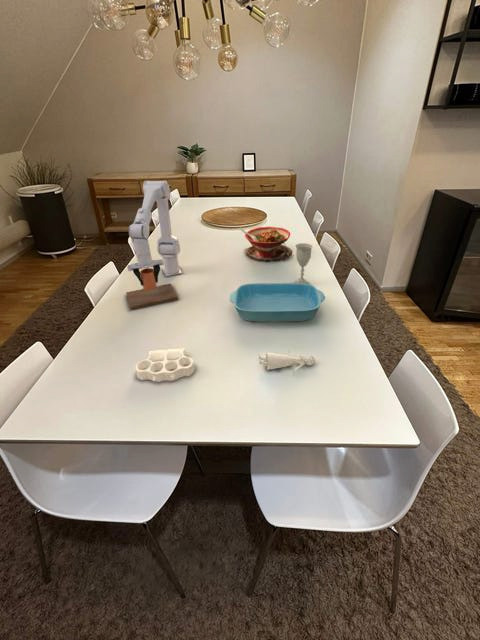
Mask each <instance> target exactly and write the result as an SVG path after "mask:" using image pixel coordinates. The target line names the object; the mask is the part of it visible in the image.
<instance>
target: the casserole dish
mask: <svg viewBox="0 0 480 640" xmlns="http://www.w3.org/2000/svg"><path fill="white" fill-rule="evenodd" d="M325 298H326V296H325V294H324V292H323V291H321V290H319V289H318V288H317V287H316V286H315V285H312V284H310V283H307V284H304V283H296V282H257V283H256V282H255V283H253V282H252V283H245V284H242V285H240V286H238V287H237V288H236V289H235V290H234V291H232V292H231V293H230V295H229V302H230V303H232V304H234V307H235V310H236V312H237V314H238V316H239V317H240V318H241V319H243V320H246V321H249V322H265V323H266V322H267V323H268V322H269V323H270V322H273V323H274V322H275V323H276V322H305V321H308V320H312V319H313V318H314V317H315V316H316V315H317V313H318V311H319V309H320V307H321V303H323V302H324V301H325V300H326V299H325Z"/></svg>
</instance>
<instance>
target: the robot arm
mask: <svg viewBox="0 0 480 640" xmlns="http://www.w3.org/2000/svg"><path fill="white" fill-rule="evenodd" d="M142 191H143V195H144V196H143V200H142V205H141V207H140V208H138V210H137V212H136V215H135V218H134V221H133V223H132V224H130V225H129V226H128V236H129V238H130V239H131V243H132V244H133V246H134V251H135V255H136V260H137V262H135V263H131V264H127V265H126V268H127V271H128V272H133V275H134V276H135V277H136V278H137V280H138V281H139V283H140V286H142V287H143V283H142V280H141V275H140V271H141V270H142V269H146V268H152V269H154V273H155V278H156V284H158V283H159V275H160V271H161V266H163V268H162V271H163V274H164V275H165V277H171V276H177V275H181V274H182V273H183V272H182V271H181V269H180V265H179V254H180V253H181V245H180V242H179V238H178V237H176V236H174V234H173V233H172V223H171V215H170V208H169V200H170V199H171V189H170V184H169V183H168V181H167V180H144V182H143V184H142ZM155 203H156V207H157V214H158V220H159V221H158V222H159V228H160V229H159V230H160V235H161V236H160V237H159V238H158V239H157V240H156V243H157V244H156V245H157V246H156V251H157V253H158V255H160V257H162V259H152V252H151V248H150V242H149V237H150V230H151V229H150V223H151V220H152V217H153V213H152V210H153V206H154V204H155Z"/></svg>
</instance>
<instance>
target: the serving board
mask: <svg viewBox="0 0 480 640" xmlns="http://www.w3.org/2000/svg"><path fill="white" fill-rule="evenodd" d="M125 294H126V297H127V301H128V305H129V309H130V311H132V310H133V311H134V310H137V309H141V308H147V307H152V306H155V305H160V304H165V303H170V302H174V301H178V300H179V297H178V295H177V293H176V291H175V289H174V287H173V285H172V283H171V282H170V283H166V284H160V285H157V287H156V288H155V289H152V290H145V289H144V288H140V289H136V290H132V291H127V292H125Z"/></svg>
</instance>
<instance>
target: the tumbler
mask: <svg viewBox="0 0 480 640" xmlns="http://www.w3.org/2000/svg"><path fill="white" fill-rule="evenodd" d="M139 271H140V275H141V280H142V283H143V286H142V289H145V290H152V289H155V288H156V287H157V286H158V283H156V278H155V273H154V269H153V267H149V268H146V269H145V268H142V269H140V270H139Z"/></svg>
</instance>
